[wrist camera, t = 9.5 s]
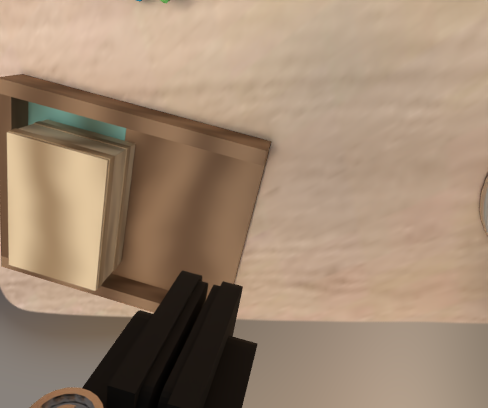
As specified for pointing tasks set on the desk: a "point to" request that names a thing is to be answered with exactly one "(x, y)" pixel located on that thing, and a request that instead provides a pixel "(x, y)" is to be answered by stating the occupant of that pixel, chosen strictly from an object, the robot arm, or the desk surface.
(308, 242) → the desk surface
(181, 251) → the bay
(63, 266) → the cream hardcover book
